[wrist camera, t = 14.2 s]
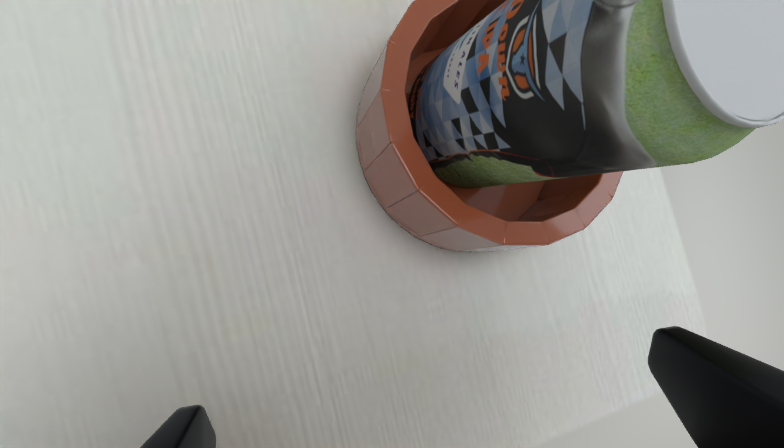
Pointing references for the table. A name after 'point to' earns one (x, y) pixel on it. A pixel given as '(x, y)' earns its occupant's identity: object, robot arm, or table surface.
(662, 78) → the beverage can
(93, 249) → the table surface
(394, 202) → the bowl
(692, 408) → the robot arm
